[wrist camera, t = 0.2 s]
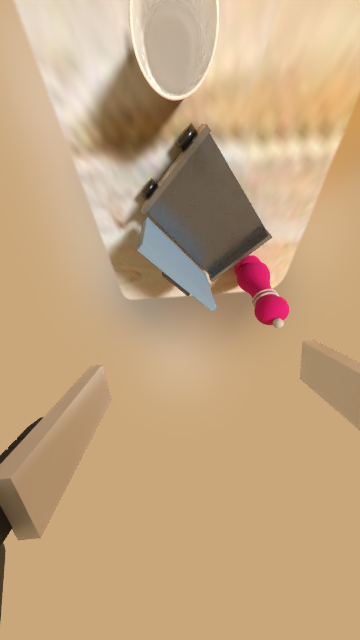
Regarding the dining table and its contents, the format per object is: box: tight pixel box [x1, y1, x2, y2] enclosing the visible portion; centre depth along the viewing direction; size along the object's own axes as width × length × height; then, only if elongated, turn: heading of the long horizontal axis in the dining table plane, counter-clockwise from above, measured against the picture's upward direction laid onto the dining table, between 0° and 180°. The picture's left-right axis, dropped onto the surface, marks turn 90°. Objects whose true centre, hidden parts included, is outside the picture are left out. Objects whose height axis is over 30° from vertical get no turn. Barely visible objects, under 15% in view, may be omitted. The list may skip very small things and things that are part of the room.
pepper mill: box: [235, 256, 289, 328], centre depth 38 cm, size 7×7×20 cm
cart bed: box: [140, 123, 272, 282], centre depth 34 cm, size 22×14×6 cm, turn 44°
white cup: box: [129, 0, 219, 101], centre depth 19 cm, size 8×8×10 cm
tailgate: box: [137, 217, 217, 311], centre depth 33 cm, size 17×2×12 cm, turn 44°
